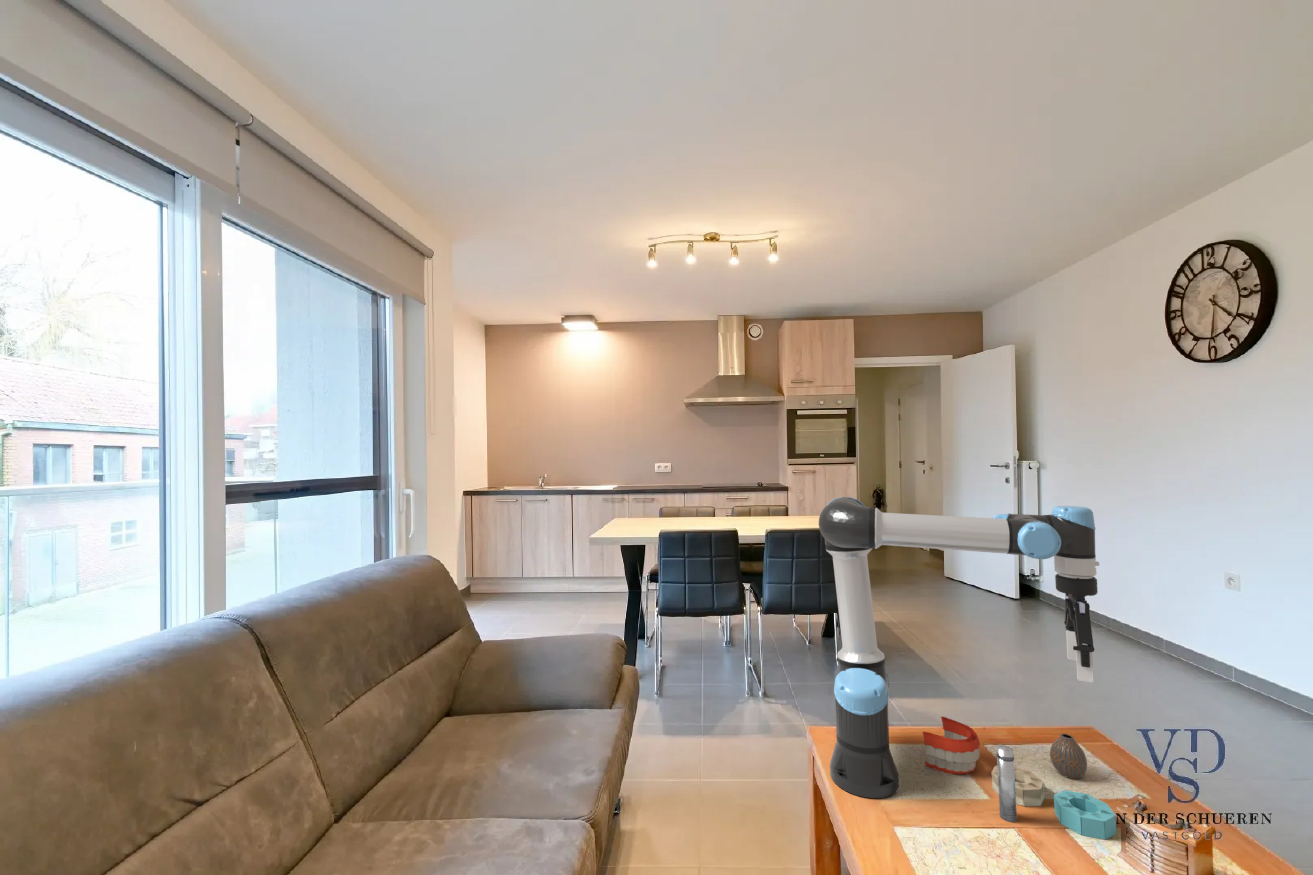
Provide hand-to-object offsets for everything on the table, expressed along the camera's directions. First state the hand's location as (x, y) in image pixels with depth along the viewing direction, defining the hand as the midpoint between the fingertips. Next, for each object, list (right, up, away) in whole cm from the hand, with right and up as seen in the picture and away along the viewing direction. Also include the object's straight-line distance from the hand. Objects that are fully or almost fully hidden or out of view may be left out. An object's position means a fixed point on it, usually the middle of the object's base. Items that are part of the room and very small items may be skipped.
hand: (1079, 670), depth 122 cm
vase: (+1, -27, +5) cm, 27 cm away
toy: (-23, -28, +10) cm, 37 cm away
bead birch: (-15, -27, -2) cm, 31 cm away
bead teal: (-8, -26, -12) cm, 30 cm away
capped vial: (-22, -26, -10) cm, 36 cm away
